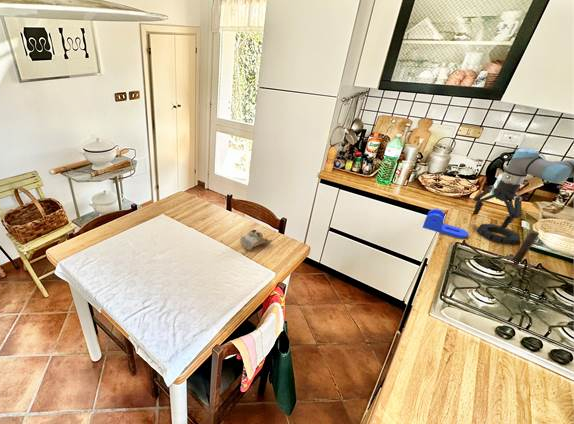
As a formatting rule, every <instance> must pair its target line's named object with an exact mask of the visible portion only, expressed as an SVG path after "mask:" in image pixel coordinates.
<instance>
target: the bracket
mask: <svg viewBox="0 0 574 424" xmlns="http://www.w3.org/2000/svg"><path fill="white" fill-rule="evenodd" d="M445 215H446V214H445V212H444V211H443V210H442V209H440V208H433V209H430V210H429V211H428V212H427V214H426V217H425V220H424V222H423V225H422V229H426V230H429V231H433V232H435V233H440V234H443V235H446V236H450V237H453V238H456V239H467V238H468V235H469V233H468V231H466V230H465V229H463V228H461V227H458V226H453V225H450V224H446V223H444V219H445V217H446V216H445Z"/></svg>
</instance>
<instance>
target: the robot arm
mask: <svg viewBox="0 0 574 424" xmlns="http://www.w3.org/2000/svg"><path fill="white" fill-rule="evenodd" d="M528 175H529V176H531V177H535V178H538V179H539V180H543V181H546V182H550V183H553V184H559V183H562V182H564V181H566V180H567V179H569V178H571V179H572V178H574V159H568V160H554V161H552V160H551V161H550V160H548V159H544V158H540V152H539V151H537V150H535V149H530V148H519V149H517V150H516V151H515V152H514V154H513V155H512V157H511V159H510V161H509V163H508V164H507V167H506V168H505V171H503V174H502V176H501V178H500V179H499V181H498V182H497V185H496V187H495V186H494V185H488V186H487V187H486V189H485V190H483V191H482V192H481V193H479V194H477V195H476V196H474V197H473V200H474V201H476V203H475V204H474V210H473V212H472V215H473V216H476V215H479V213H480V211H481V209H482V208H483V205H484V202H486V201H489V200H491V199H492V200H493V199H494V198H495V199H496V200H499V201H500V202H503V203H504V205H505V207H506V209H507V213H508V215H507V216H506V218H505V219H504V221H503V222H502V224H501V225H500V226H501V227H500V228H502V229H503V228H505V229H506V228H508V226H509V224H513V222H514V220H515V219H521V218H522V217H523V212H522V211H523V210H522V207H523V206H522V203H523V202H522V201H523V199H524V197H523V196H518V195H516V194H517V193H518V191H519V189H520V188H521V185H522V184H523V183H524V181H525V179H526V177H527V176H528ZM491 192H493V193H492V194H490V195H488V194H489V193H491ZM486 195H487V196H486Z"/></svg>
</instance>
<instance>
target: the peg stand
mask: <svg viewBox="0 0 574 424" xmlns="http://www.w3.org/2000/svg"><path fill="white" fill-rule="evenodd" d="M539 235H540V232H538V231H537V230H536V231H535V230H530V231H529V233H528V234H527V235H526V237H525V239H524V241H523V242H522V244H521V245H520V247H519V248H518V250H517V251H516V253H514V254H515V255H513V254H510V255H505V256H504V255H503V256H500V257H501V258H505V259H509V260H511V261H513V260H514V261H513V262H514V263H507V264H508V265H509V266H512V267H513V268H514V269H517V270H518V271H520V270H522V269H521V268H520V266H519V265H518V264H519V262H520V263H522V262H523V261H524V258H525V256H526V255H527V253H528V252H529V250H530V249H531V248H532V246H533V244H534V242H535V241H536V240H537V238H538V237H539ZM515 261H516V262H515ZM527 266H528V268H527V269H529V268H533V267H534V265H532V264H530V263H528V262H527Z"/></svg>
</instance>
